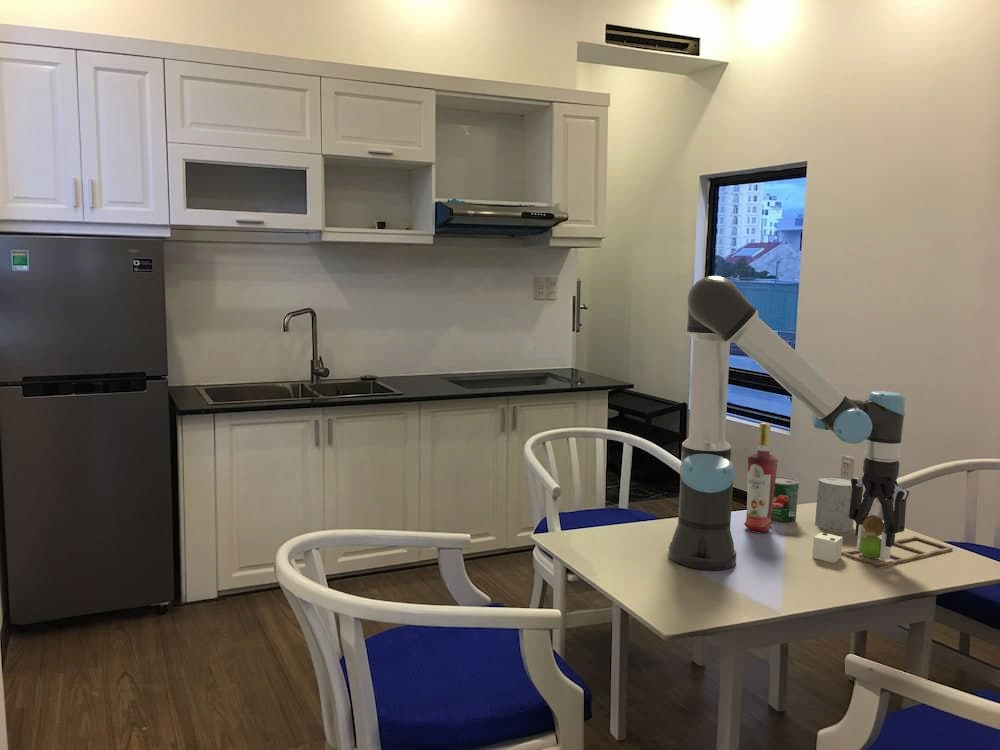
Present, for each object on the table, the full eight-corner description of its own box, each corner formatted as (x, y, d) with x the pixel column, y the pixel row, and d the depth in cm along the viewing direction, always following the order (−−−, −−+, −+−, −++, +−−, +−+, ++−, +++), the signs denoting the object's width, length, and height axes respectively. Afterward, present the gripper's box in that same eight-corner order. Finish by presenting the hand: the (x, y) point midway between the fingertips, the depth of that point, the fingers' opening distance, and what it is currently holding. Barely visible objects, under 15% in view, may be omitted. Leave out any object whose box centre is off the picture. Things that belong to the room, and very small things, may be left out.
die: (834, 563, 186) (836, 541, 185) (812, 557, 189) (814, 536, 189) (841, 557, 190) (843, 536, 189) (819, 552, 193) (821, 531, 192)
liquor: (777, 530, 209) (785, 424, 206) (764, 536, 204) (772, 427, 200) (751, 524, 214) (758, 420, 211) (737, 529, 209) (745, 423, 205)
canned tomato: (763, 521, 217) (766, 481, 216) (767, 514, 224) (769, 475, 223) (794, 526, 214) (797, 485, 212) (797, 518, 221) (800, 479, 219)
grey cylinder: (853, 524, 217) (857, 479, 216) (853, 533, 208) (857, 487, 207) (815, 518, 221) (819, 474, 219) (813, 528, 212) (817, 482, 211)
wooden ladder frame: (878, 568, 183) (878, 565, 183) (840, 554, 192) (841, 552, 192) (952, 550, 197) (952, 548, 197) (914, 538, 206) (914, 536, 206)
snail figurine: (892, 562, 187) (897, 512, 186) (864, 561, 187) (869, 511, 186) (882, 554, 193) (886, 505, 191) (855, 553, 193) (859, 505, 191)
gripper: (929, 465, 181) (919, 565, 184) (857, 449, 197) (849, 540, 200) (908, 468, 178) (899, 570, 180) (837, 451, 193) (829, 545, 196)
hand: (872, 554), depth 190 cm, fingers closed on snail figurine, 5 cm apart
